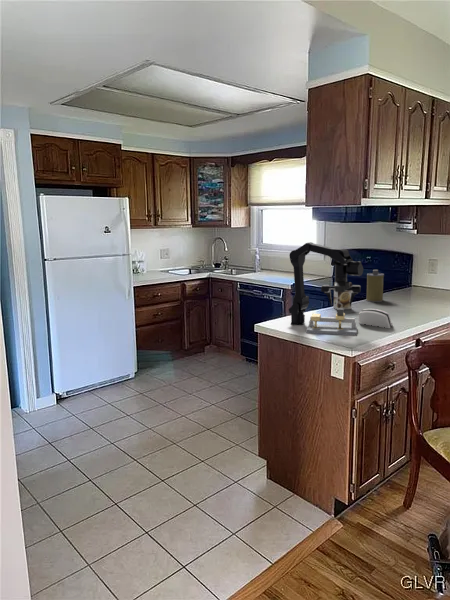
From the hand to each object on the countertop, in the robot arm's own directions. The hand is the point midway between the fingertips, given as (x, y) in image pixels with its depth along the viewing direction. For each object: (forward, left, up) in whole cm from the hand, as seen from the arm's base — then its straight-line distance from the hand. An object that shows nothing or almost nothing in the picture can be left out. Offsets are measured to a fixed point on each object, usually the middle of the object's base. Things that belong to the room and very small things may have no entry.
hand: (340, 305), depth 224 cm
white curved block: (+17, +13, -13) cm, 25 cm away
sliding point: (0, 0, -11) cm, 11 cm away
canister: (+17, +78, -13) cm, 80 cm away
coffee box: (-2, +51, -13) cm, 52 cm away
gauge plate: (-4, -1, -13) cm, 13 cm away
